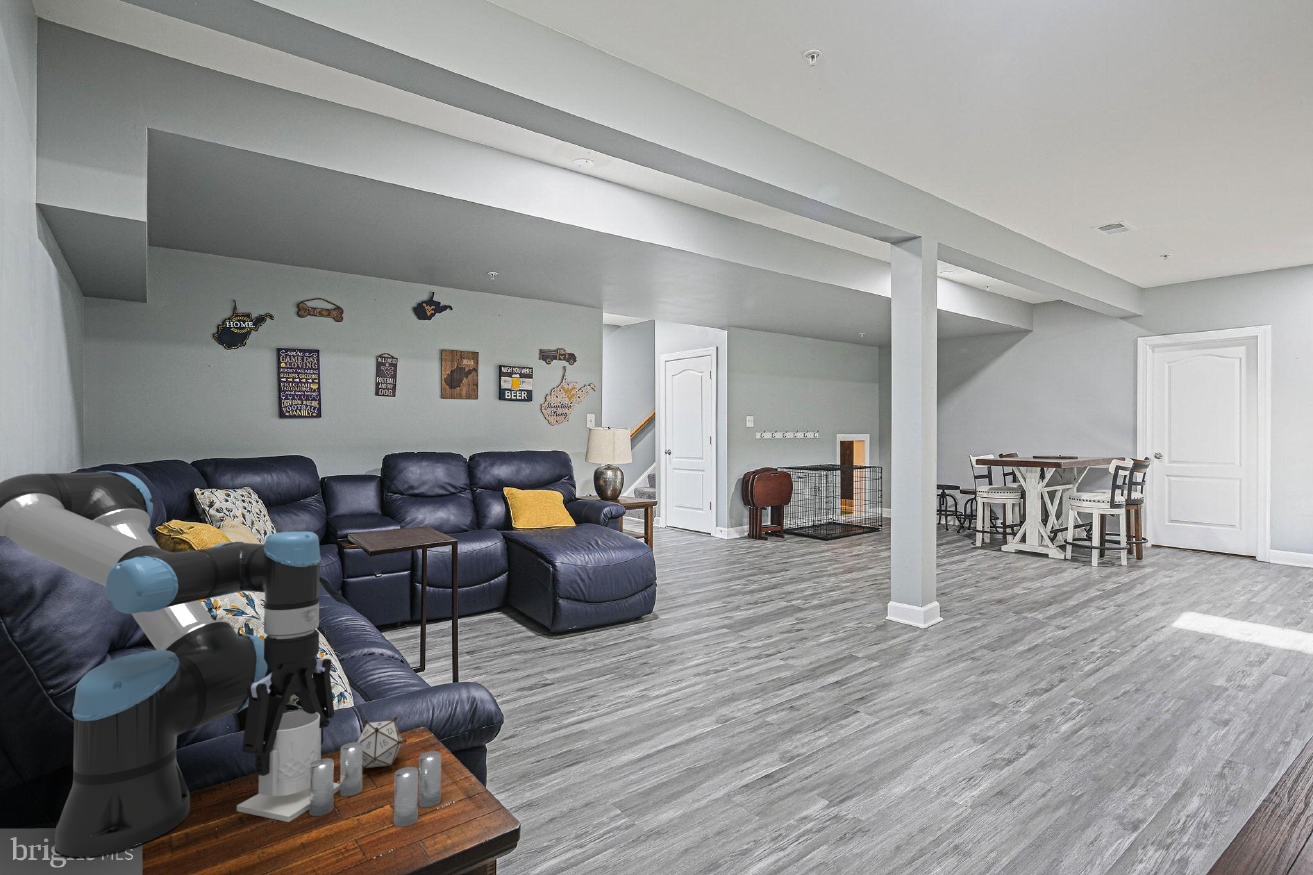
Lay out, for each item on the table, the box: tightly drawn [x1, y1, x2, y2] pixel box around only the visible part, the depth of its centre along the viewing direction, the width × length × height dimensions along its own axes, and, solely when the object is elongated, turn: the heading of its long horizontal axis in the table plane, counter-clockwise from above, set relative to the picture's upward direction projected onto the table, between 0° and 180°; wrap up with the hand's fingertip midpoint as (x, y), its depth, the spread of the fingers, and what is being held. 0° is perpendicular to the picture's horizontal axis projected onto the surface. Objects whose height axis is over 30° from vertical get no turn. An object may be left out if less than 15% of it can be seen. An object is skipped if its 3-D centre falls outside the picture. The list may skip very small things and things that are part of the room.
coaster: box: [236, 782, 340, 823], centre depth 103 cm, size 10×10×1 cm
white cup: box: [263, 710, 320, 796], centre depth 103 cm, size 8×8×10 cm
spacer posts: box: [308, 741, 442, 828], centre depth 101 cm, size 17×10×7 cm, turn 72°
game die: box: [356, 715, 408, 773], centre depth 114 cm, size 9×8×10 cm
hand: (290, 780), depth 103 cm, fingers closed on white cup, 7 cm apart
